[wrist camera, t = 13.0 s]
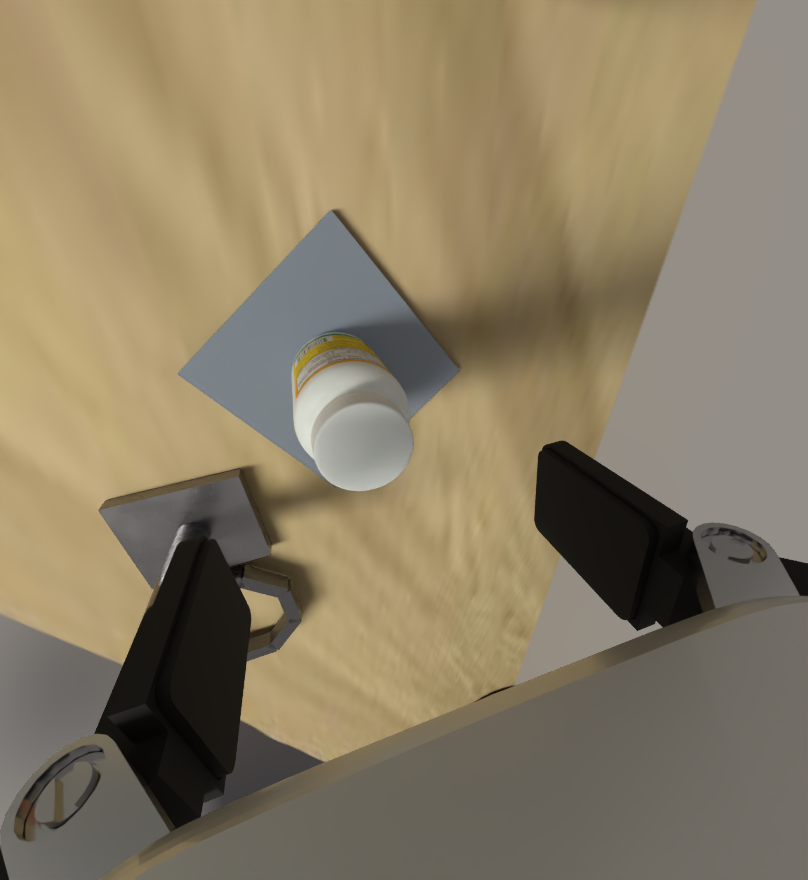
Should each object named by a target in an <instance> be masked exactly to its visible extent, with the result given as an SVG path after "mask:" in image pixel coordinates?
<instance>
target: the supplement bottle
mask: <svg viewBox="0 0 808 880" xmlns="http://www.w3.org/2000/svg"><path fill="white" fill-rule="evenodd" d="M292 396H293V421H294V428H295V432H296V435H297V438H298V440H299V442H300V444H301V445H302V447H303V448H304V450H305V451H306V452H307V453H308V454H309V455H310V456H311V457H312V458H313V459H314V460H315V463H316V465H317V467H318V469H319V471H320V473H321V474H322V475H323V476H324V477H325V478H326V479H327V480H328V481H329V482H330V483H332V484H334V485H335V486H337V487H340V488H342V489H346V490H351V491H367V490H372V489H376V488H379V487H381V486H384V485H386V484H388V483H389V482H391V481H392V480H394V479H395V478H396V477H397V476H398V475H399V474H400V473H401V472H402V471H403V470H404V469H405V467H406V466H407V464H408V462H409V460H410V458H411V455H412V451H413V444H414V441H413V434H412V430H411V427H410V425H409V420H410V409H409V403H408V400H407V397H406V394H405V392H404V390H403V388H402V387H401V385H400V384H399V382H398V381H397V380H396V378H395V377H394V376H393V375H392V374H391V372H390V371H389V370H388V369H387V368H386V367H385V365H384V364H383V363H382V362H381V360H380V359H379V358H378V357H377V356H376V354H375V353H374V352H373V351H372V350H371V348H370V347H369V346H368V345H367V344H366V343H365V342H363V341H362V340H361V339H359V338H357V337H355V336H353V335H350V334H346V333H340V332H332V333H326V334H322V335H319V336H317V337H315V338H313V339H311V340H310V341H308V342H307V343H306V344H305V345H304V346H303V347H302V348H301V349H300V351H299V352H298V354H297V355H296V357H295V360H294V362H293V366H292Z"/></svg>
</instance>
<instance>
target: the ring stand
mask: <svg viewBox="0 0 808 880" xmlns="http://www.w3.org/2000/svg"><path fill="white" fill-rule="evenodd" d="M98 511H99V513H100V514H101V515H102V517H103V518H104V520H105V521H106V523H107V524H108V526H109V527H110V529H111V530H112V531H113V533H114V534H115V536H116V537H117V539H118V540H119V542H120V543H121V545H122V546H123V547H124V549H125V550H126V552H127V553H128V555H129V556H130V558H131V559H132V561H133V562H134V563H135V565H136V566H137V568H138V569H139V571H140V572H141V574H142V575H143V577H144V578H145V579H146V581H147V582H148V584H149V585H150V587H151V588H152V589H154V590H153V593H152V595H151V598H150V601H149V603H148V606H147V608H146V611H147V609H148V608H149V607H150V606H152V605H153V603H154V601H155V598H156V596H157V593H158V591H159V588H160V586H161V583H162V581H163V579H164V576H165V574H166V571H167V569H168V566H169V564H170V561H171V559H172V556H173V554H174V551H175V549H176V547H177V545H178V543H179V542H181V541H185V540H189V539H193V538H196V537H200V536H206V537H207V538H208V539H209V540H211V539H215V540H216V541H217V543H218V545H219V547H220V549H221V551H222V553H223V555H224V557H225V559H226V561H227V563H228V565H229V567H230V566H234V565H237V564H241V563H244V562H247V561H251V560H254V559H258V558H261V557H265V556H268V555H271V548H272V545H271V542H270V540H269V537H268V535H267V533H266V530H265V528H264V525H263V523H262V520H261V518H260V515H259V513H258V510H257V508H256V506H255V503H254V501H253V498H252V496H251V493H250V491H249V488H248V486H247V483H246V481H245V479H244V476H243V474H242V471H241V469H236V470H231V471H227V472H223V473H219V474H215V475H211V476H206V477H202V478H198V479H194V480H190V481H185V482H181V483H177V484H173V485H169V486H165V487H160V488H156V489H152V490H148V491H144V492H139V493H135V494H131V495H127V496H123V497H119V498H114V499H110V500H106V501H105V502H104V503H103V505H102V506H101V507H100V509H99V510H98ZM230 569H231V571H232V573H233V575H234V577H235V579H236V582H237V584H238V586H239V588H243V589H247V590H250V591H254V592H258V593H262V594H266V595H270V596H274V597H278V599H279V601H280V604H281V606H282V608H283V610H284V615H283V616H282V617H281V619H280V620H279V621H278V622H277V624H276V625H275V626H274V628H273V629H272V630H271V631H270V632H269V633H266V634H262V635H259V636H256V637H253V638H250V639H249V645H248V654H247V661H249V660H252V659H255V658H258V657H261V656H264V655H267V654H270V653H273V652H276V651H277V649H278V650H279V649H280V648H281V647H282V645H283V644H284V643H285V641H286V640H287V639H288V638H289V636H290V635H291V634H292V633H293V631H294V630H295V629H296V628H297V626H298V625H299V624H300V623H301V620H302V610H301V605H300V602H299V600H298V597H297V595H296V592H295V590H294V587H293V585H292V582H291V580H290V579H288V577H286V576H283V575H279V574H276V573H272V572H269V571H265V570H262V569H258V568H255V567H252V566H248V565H244V567H243V566H242V565H239V566H236V567H232V568H230ZM146 611H145V613H146ZM145 613H144V614H145ZM143 617H144V616H143ZM142 619H143V618H142ZM140 624H141V623H140Z"/></svg>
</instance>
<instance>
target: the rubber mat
mask: <svg viewBox="0 0 808 880" xmlns="http://www.w3.org/2000/svg"><path fill="white" fill-rule="evenodd" d="M332 332H340V333H346V334H350V335H353V336H355V337H357V338H359V339H361V340H362V341H363V342H365V343H366V344H367V345H368V346H369V347H370V348H371V350H372V351H373V352H374V353H375V354H376V356H377V357H378V358H379V359H380V360H381V362H382V363H383V364H384V365H385V367H386V368H387V369H388V370H389V371H390V372H391V374H392V375H393V376H394V377H395V378H396V380H397V381H398V382H399V384H400V385H401V387H402V388H403V390H404V392H405V394H406V397H407V400H408V403H409V409H410V418H411V417H412V416H413V415H414V414H415V413H416V412H417V411H418V410H419V409H420V408H421V407H422V406H423V405H424V404H425V403H426V402H428V401H429V400H430V399H431V398H432V397H433V396H434V395H435V394H436V393H437V392H438V391H439V390H440V389H441V388H442V387H443V386H445V385H446V384H447V383H448V382H449V381H450V380H451V379H452V378H453V377H454V376H455V375H456V374H457V373H458V372H459V371H460V370H459V369H458V368H457V366H456V365H455V364H454V363H453V361H452V360H451V359H450V358H449V356H448V355H447V354H446V353H445V351H444V350H443V349H442V348H441V346H440V345H439V344H438V343H437V341H436V340H435V339H434V338H433V336H432V335H431V334H430V333H429V331H428V330H427V329H426V328H425V326H424V325H423V324H422V323H421V321H420V320H419V319H418V318H417V316H416V315H415V314H414V313H413V311H412V310H411V309H410V308H409V306H408V305H407V304H406V303H405V301H404V300H403V299H402V298H401V296H400V295H399V294H398V293H397V291H396V290H395V289H394V288H393V286H392V285H391V284H390V283H389V281H388V280H387V279H386V278H385V276H384V275H383V274H382V273H381V271H380V270H379V269H378V268H377V266H376V265H375V264H374V263H373V261H372V260H371V259H370V258H369V256H368V255H367V254H366V253H365V251H364V250H363V249H362V248H361V246H360V245H359V244H358V243H357V241H356V240H355V239H354V238H353V236H352V235H351V234H350V233H349V231H348V230H347V229H346V228H345V226H344V225H343V224H342V223H341V221H340V220H339V219H338V218H337V216H336V215H335V214H334V213H333V211H332V210H330V211H329V212H328V213H327V214H326V215H325V216H324V218H323V219H322V220H321V221H320V222H319V223H318V224H317V225H316V226H315V227H314V228H313V229H312V230H311V231H310V232H309V234H308V235H307V236H306V237H305V238H304V239H303V240H302V241H301V242H300V243H299V244H298V245H297V246H296V247H295V249H294V250H293V251H292V252H291V253H290V254H289V255H288V256H287V257H286V258H285V259H284V260H283V261H282V262H281V263H280V265H279V266H278V267H277V268H276V269H275V270H274V271H273V272H272V273H271V274H270V275H269V276H268V277H267V278H266V280H265V281H264V282H263V283H262V284H261V285H260V286H259V287H258V288H257V289H256V290H255V291H254V292H253V293H252V294H251V296H250V297H249V298H248V299H247V300H246V301H245V302H244V303H243V304H242V305H241V306H240V307H239V308H238V309H237V311H236V312H235V313H234V314H233V315H232V316H231V317H230V318H229V319H228V320H227V321H226V322H225V323H224V324H223V325H222V327H221V328H220V329H219V330H218V331H217V332H216V333H215V334H214V335H213V336H212V337H211V338H210V339H209V340H208V342H207V343H206V344H205V345H204V346H203V347H202V348H201V349H200V350H199V351H198V352H197V353H196V354H195V355H194V356H193V358H192V359H191V360H190V361H189V362H188V363H187V364H186V365H185V366H184V367H183V368H182V369H181V370H180V371H179V373H178V375H179V376H181V377H182V378H183V379H185V380H186V381H188V382H189V383H190V384H192V385H193V386H195V387H196V388H197V389H199V390H200V391H202V392H203V393H204V394H206V395H207V396H209V397H210V398H211V399H213V400H214V401H216V402H217V403H218V404H220V405H221V406H223V407H224V408H225V409H227V410H228V411H229V412H231V413H232V414H234V415H235V416H236V417H238V418H239V419H241V420H242V421H243V422H245V423H246V424H248V425H249V426H250V427H252V428H253V429H255V430H256V431H257V432H259V433H260V434H262V435H263V436H264V437H266V438H267V439H269V440H270V441H271V442H273V443H274V444H276V445H277V446H278V447H280V448H281V449H283V450H284V451H285V452H287V453H288V454H290V455H291V456H292V457H294V458H295V459H297V460H298V461H299V462H301V463H302V464H303V465H305V466H306V467H308V468H309V469H310V470H312V471H313V472H315V473H316V474H317V475H319V476H320V477H322V478H323V479H324V480H326V481H327V482H329V481H328V480H327V479H326V478H325V477H324V476H323V475H322V474H321V473H320V471H319V469H318V467H317V465H316V463H315V460H314V459H313V458H312V457H311V456H310V455H309V454H308V453H307V452H306V451H305V450H304V448H303V447H302V445H301V444H300V442H299V440H298V438H297V435H296V432H295V428H294V421H293V396H292V366H293V362H294V360H295V357H296V355H297V354H298V352H299V351H300V349H301V348H302V347H303V346H304V345H305V344H306V343H307V342H308V341H310V340H311V339H313V338H315V337H317V336H319V335H322V334H326V333H332ZM329 483H330V482H329ZM330 484H331V485H333V486H334V487H337V486H335V485H334V484H332V483H330Z"/></svg>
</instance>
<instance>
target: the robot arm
mask: <svg viewBox="0 0 808 880" xmlns="http://www.w3.org/2000/svg"><path fill="white" fill-rule="evenodd" d="M534 521H535V525H536V527H537V529H538V530H539V532H540V533H541V534H542V535H543V536H544V537H545V538H546V539H547V540H548V541H549V542H550V544H551V545H552V546H553V547H554V548H555V549H556V550H557V551H558V552H559V553H560V554H561V555H562V556H563V558H564V559H565V560H566V561H567V562H568V563H569V564H570V565H571V566H572V567H573V568H574V569H575V570H576V572H577V573H578V574H579V575H580V576H581V577H582V578H583V579H584V580H585V581H586V582H587V583H588V584H589V586H590V587H591V588H592V589H593V590H594V591H595V592H596V593H597V594H598V595H599V596H600V597H601V599H602V600H603V601H604V602H605V603H606V604H607V605H608V606H609V607H610V608H611V609H612V610H613V611H614V613H615V614H616V615H617V616H618V617H620V618H621V619H623V620H628V622H629V623H630V624H631V625H632V626H633V627H634V628H635V629H636V630H637V631H638V630H641V629H643V628H646V627H648V626H651V625H653V624H655V621H657V622H658V623H659V624H660V625H661V626H662V627H663V628H661V629H658V630H655V631H653V632H650V633H647V634H645V635H642V636H640V637H638V638H635V639H632V640H630V641H627V642H625V643H622V644H620V645H617V646H615V647H612V648H609V649H607V650H604V651H602V652H599V653H597V654H594V655H592V656H589V657H587V658H584V659H581V660H579V661H576V662H574V663H571V664H569V665H566V666H564V667H561V668H559V669H556V670H554V671H551V672H549V673H546V674H544V675H541V676H538V677H536V678H534V679H531V680H528V681H526V682H524V683H521V684H519V685H516V686H513V687H511V688H508V689H506V690H503V691H500V692H497V693H494V694H492V695H490V696H488V697H486V698H483V699H481V700H478V701H476V702H473V703H471V704H468V705H466V706H463V707H461V708H458V709H456V710H454V711H451V712H449V713H446V714H444V715H441V716H439V717H436V718H434V719H431V720H429V721H426V722H424V723H421V724H419V725H416V726H414V727H411V728H409V729H406V730H404V731H402V732H399V733H397V734H394V735H392V736H389V737H387V738H384V739H382V740H379V741H377V742H375V743H372V744H370V745H367V746H365V747H362V748H360V749H357V750H355V751H352V752H350V753H347V754H345V755H343V756H340V757H338V758H335V759H333V760H330V761H328V762H325V763H323V764H320V765H318V766H315V767H313V768H311V769H308V770H306V771H304V772H301V773H299V774H297V775H294V776H292V777H290V778H287V779H285V780H283V781H280V782H278V783H276V784H273V785H271V786H269V787H266V788H264V789H262V790H259V791H257V792H254V793H252V794H250V795H247V796H245V797H243V798H241V799H238V800H236V801H233V802H231V803H229V804H227V805H225V806H222V807H220V808H218V809H216V810H214V811H212V812H210V813H208V814H206V815H204V816H202V817H201V812H202V806H203V803H204V802H207V801H209V800H212V799H214V798H217V797H219V796H222V795H223V794H224V786H225V779H226V775H227V774H230V773H232V771H233V769H234V766H235V760H236V751H237V742H238V733H239V724H240V715H241V707H242V698H243V689H244V680H245V671H246V662H247V654H248V645H249V636H250V627H251V613H250V609H249V606H248V604H247V602H246V600H245V598H244V596H243V594H242V592H241V590H240V588H239V586H238V584H237V582H236V579H235V577H234V575H233V573H232V571H231V569H230V567H229V565H228V563H227V561H226V559H225V557H224V555H223V553H222V551H221V549H220V547H219V545H218V543H217V541H216V540H215V539H211V540H209V539H208V538H207V537H206V536H200V537H196V538H193V539H189V540H185V541H181V542H179V543H178V545H177V547H176V549H175V551H174V554H173V556H172V559H171V561H170V564H169V566H168V569H167V571H166V574H165V576H164V579H163V581H162V583H161V586H160V588H159V591H158V593H157V596H156V598H155V601H154V603H153V605H152V606H150V607H149V608H148V609H147V611H146V613H145V614H144V617H143V619H142V621H141V624H140V626H139V628H138V631H137V633H136V636H135V638H134V640H133V643H132V645H131V648H130V650H129V652H128V655H127V657H126V659H125V662H124V664H123V667H122V669H121V671H120V674H119V676H118V678H117V681H116V683H115V686H114V688H113V690H112V693H111V695H110V698H109V700H108V702H107V705H106V707H105V710H104V712H103V714H102V717H101V719H100V721H99V724H98V726H97V728H96V731H95V733H94V734H93V735H89V736H85V737H82V738H80V739H78V740H76V741H74V742H72V743H70V744H69V745H67V746H65V747H64V748H62V749H61V750H60V751H58V752H57V753H56V754H54V755H53V756H52V757H51V758H49V759H48V760H47V761H46V762H45V763H44V764H43V765H42V766H41V767H40V768H39V769H38V770H37V771H36V772H35V773H34V774H32V776H31V777H30V778H29V780H28V781H27V782H26V783H25V785H24V786H23V787H22V788H21V790H20V791H19V792H18V794H17V795H16V797H15V799H14V800H13V802H12V804H11V806H10V807H9V809H8V811H7V813H6V815H5V819H4V822H3V825H2V827H1V830H0V880H808V563H803V562H798V561H794V560H789V559H784V558H780V557H778V555H777V554H776V552H775V551H774V549H773V548H772V547H771V546H770V544H768V543H767V542H766V541H765V540H763V539H762V538H761V537H759V536H757V535H755V534H753V533H751V532H749V531H747V530H745V529H742V528H739V527H736V526H732V525H728V524H722V523H706V524H702V525H699V526H697V527H696V528H695V529H694V531H693V532H692V531H690V530H689V529H688V528H686V525H687V522H688V520H687V519H685V518H684V517H682V516H681V515H679V514H678V513H676V512H675V511H673V510H671V509H670V508H668V507H666V506H665V505H664V504H662V503H661V502H659V501H657V500H656V499H654V498H653V497H651V496H650V495H648V494H647V493H645V492H644V491H642V490H640V489H639V488H637V487H636V486H634V485H633V484H631V483H630V482H628V481H626V480H625V479H623V478H622V477H620V476H619V475H617V474H616V473H614V472H612V471H611V470H609V469H608V468H606V467H605V466H603V465H602V464H600V463H599V462H597V461H595V460H594V459H592V458H591V457H589V456H588V455H586V454H585V453H583V452H582V451H580V450H578V449H577V448H575V447H574V446H572V445H571V444H569V443H568V442H566V441H558V442H554V443H551V444H547V445H545V446H544V447H543V448H542V451H540V452H539V455H538V467H537V483H536V500H535V516H534Z"/></svg>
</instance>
